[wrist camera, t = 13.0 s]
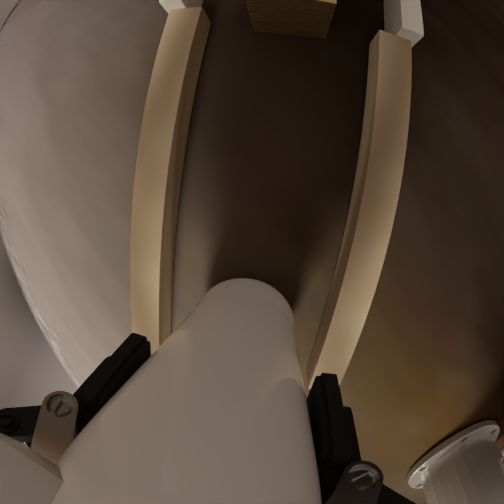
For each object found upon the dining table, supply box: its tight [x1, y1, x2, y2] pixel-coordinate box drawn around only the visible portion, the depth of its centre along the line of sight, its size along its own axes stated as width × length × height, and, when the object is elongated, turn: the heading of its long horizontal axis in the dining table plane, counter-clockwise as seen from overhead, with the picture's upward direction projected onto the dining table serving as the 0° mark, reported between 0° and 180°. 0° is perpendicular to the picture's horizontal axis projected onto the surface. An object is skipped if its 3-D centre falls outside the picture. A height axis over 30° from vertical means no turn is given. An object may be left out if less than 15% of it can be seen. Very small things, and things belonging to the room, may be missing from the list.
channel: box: [130, 7, 412, 389], centre depth 13 cm, size 13×20×2 cm, turn 171°
